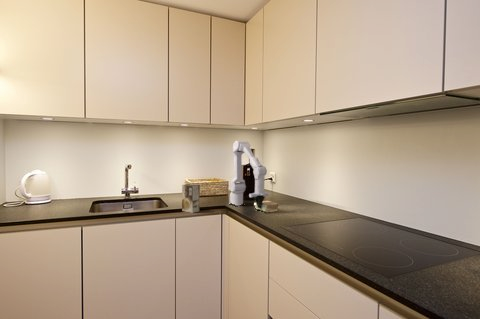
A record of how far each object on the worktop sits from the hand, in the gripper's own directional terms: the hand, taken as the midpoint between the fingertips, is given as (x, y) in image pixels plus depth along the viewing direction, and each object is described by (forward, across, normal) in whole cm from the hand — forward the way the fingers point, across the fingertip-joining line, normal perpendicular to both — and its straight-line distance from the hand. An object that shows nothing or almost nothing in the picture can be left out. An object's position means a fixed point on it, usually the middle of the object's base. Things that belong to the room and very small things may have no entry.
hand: (259, 208), depth 171 cm
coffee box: (+3, -35, +23) cm, 42 cm away
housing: (+2, +6, 0) cm, 7 cm away
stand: (+2, +6, +10) cm, 12 cm away
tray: (+2, +5, 0) cm, 6 cm away
